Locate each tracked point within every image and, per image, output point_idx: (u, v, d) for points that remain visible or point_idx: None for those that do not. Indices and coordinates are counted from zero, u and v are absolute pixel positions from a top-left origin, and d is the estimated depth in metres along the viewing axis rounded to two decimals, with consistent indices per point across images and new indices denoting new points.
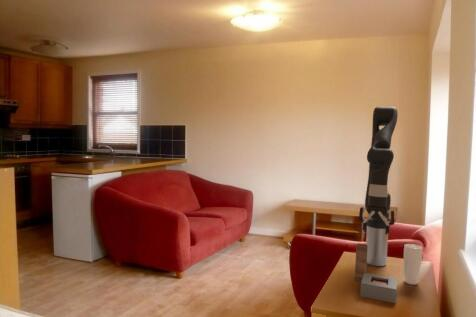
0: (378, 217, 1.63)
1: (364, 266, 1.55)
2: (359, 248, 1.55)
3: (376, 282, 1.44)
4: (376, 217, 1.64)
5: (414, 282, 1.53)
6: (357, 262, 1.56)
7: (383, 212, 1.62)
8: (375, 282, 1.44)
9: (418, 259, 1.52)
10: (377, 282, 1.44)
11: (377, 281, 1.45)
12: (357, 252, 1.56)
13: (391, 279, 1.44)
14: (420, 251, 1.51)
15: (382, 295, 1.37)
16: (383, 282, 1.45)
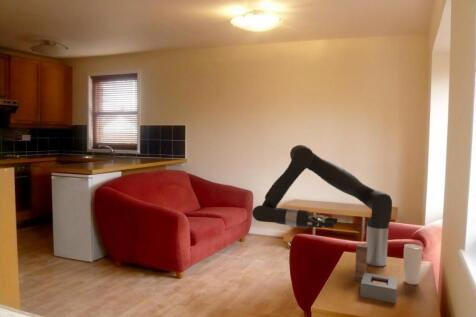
0: None
1: (364, 266, 1.55)
2: (359, 248, 1.55)
3: (376, 282, 1.44)
4: None
5: (414, 282, 1.53)
6: (357, 262, 1.56)
7: None
8: (375, 282, 1.44)
9: (418, 259, 1.52)
10: (377, 282, 1.44)
11: (377, 281, 1.45)
12: (357, 252, 1.56)
13: (391, 279, 1.44)
14: (420, 251, 1.51)
15: (382, 295, 1.37)
16: (383, 282, 1.45)
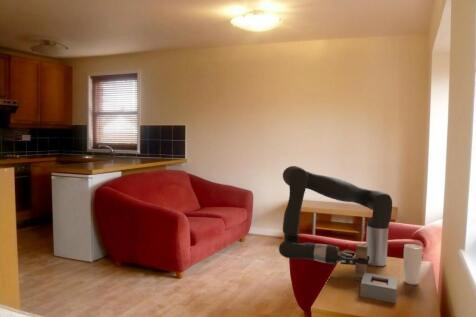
0: None
1: (364, 266, 1.55)
2: (359, 248, 1.55)
3: (376, 282, 1.44)
4: None
5: (414, 282, 1.53)
6: None
7: None
8: (375, 282, 1.44)
9: (418, 259, 1.52)
10: (377, 282, 1.44)
11: (377, 281, 1.45)
12: (357, 252, 1.56)
13: (391, 279, 1.44)
14: (420, 251, 1.51)
15: (382, 295, 1.37)
16: (383, 282, 1.45)
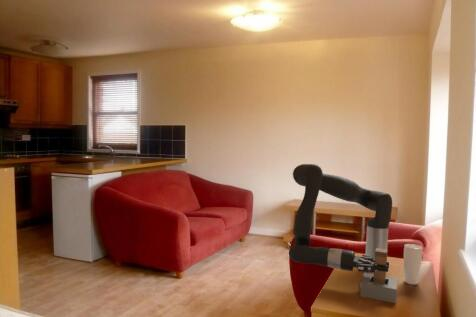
0: None
1: (384, 273, 1.40)
2: (378, 253, 1.41)
3: None
4: None
5: (414, 282, 1.53)
6: None
7: None
8: None
9: (418, 259, 1.52)
10: None
11: None
12: (376, 258, 1.41)
13: (391, 279, 1.44)
14: (420, 251, 1.51)
15: (382, 295, 1.37)
16: None
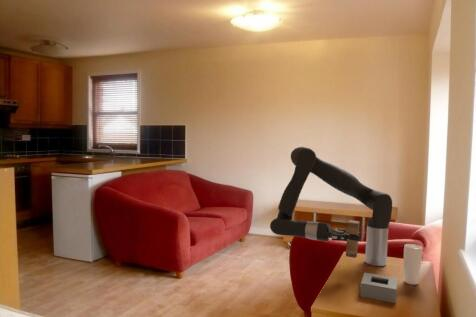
0: None
1: (355, 242, 1.54)
2: (350, 224, 1.54)
3: None
4: None
5: (414, 282, 1.53)
6: None
7: None
8: None
9: (418, 259, 1.52)
10: None
11: None
12: (348, 228, 1.54)
13: (391, 279, 1.44)
14: (420, 251, 1.51)
15: (382, 295, 1.37)
16: None
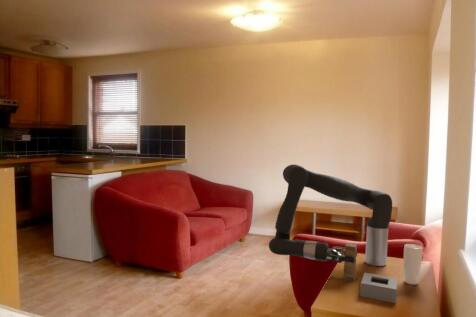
0: None
1: (353, 266, 1.55)
2: (348, 248, 1.55)
3: None
4: None
5: (414, 282, 1.53)
6: (346, 262, 1.56)
7: None
8: None
9: (418, 259, 1.52)
10: None
11: None
12: (346, 252, 1.55)
13: (391, 279, 1.44)
14: (420, 251, 1.51)
15: (382, 295, 1.37)
16: None
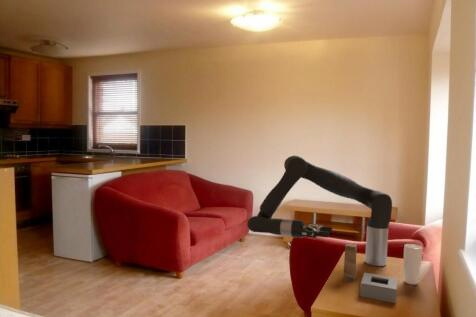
0: None
1: (353, 266, 1.55)
2: (348, 248, 1.55)
3: None
4: None
5: (414, 282, 1.53)
6: (346, 262, 1.56)
7: None
8: None
9: (418, 259, 1.52)
10: None
11: None
12: (346, 252, 1.55)
13: (391, 279, 1.44)
14: (420, 251, 1.51)
15: (382, 295, 1.37)
16: None
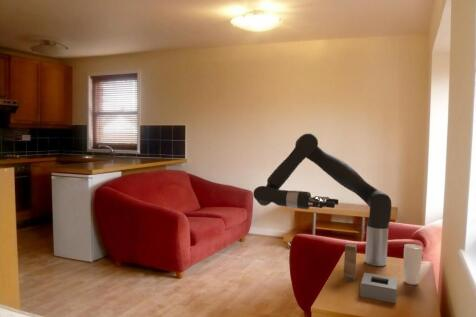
0: None
1: (353, 266, 1.55)
2: (347, 248, 1.55)
3: None
4: None
5: (414, 282, 1.53)
6: (346, 262, 1.56)
7: None
8: None
9: (418, 259, 1.52)
10: None
11: None
12: (346, 252, 1.55)
13: (391, 279, 1.44)
14: (420, 251, 1.51)
15: (382, 295, 1.37)
16: None
